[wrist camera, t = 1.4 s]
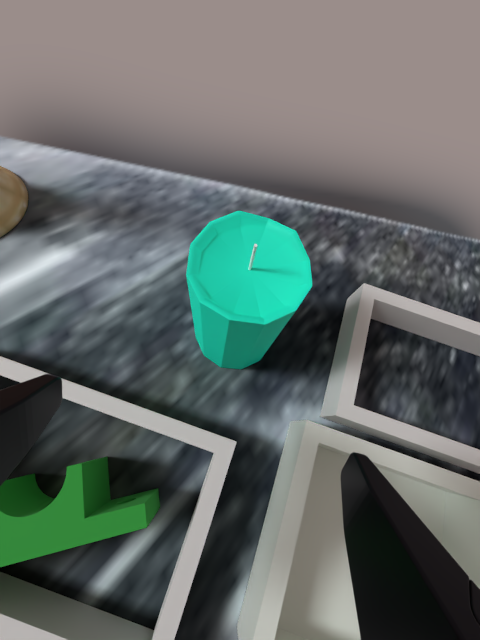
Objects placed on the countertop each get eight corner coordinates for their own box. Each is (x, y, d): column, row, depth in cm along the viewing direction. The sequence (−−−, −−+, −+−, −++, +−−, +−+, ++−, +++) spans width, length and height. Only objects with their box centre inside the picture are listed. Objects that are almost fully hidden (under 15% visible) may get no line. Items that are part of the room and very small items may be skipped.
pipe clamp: (153, 445, 21) (139, 449, 17) (160, 506, 20) (148, 527, 16) (-29, 487, 19) (-98, 504, 15) (-33, 557, 18) (-108, 597, 14)
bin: (433, 700, 18) (494, 773, 14) (236, 625, 18) (243, 677, 14) (450, 478, 22) (500, 489, 18) (290, 421, 22) (306, 419, 18)
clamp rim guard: (163, 658, 17) (154, 703, 14) (-147, 540, 18) (-214, 560, 15) (233, 440, 21) (236, 441, 18) (-19, 349, 22) (-53, 337, 19)
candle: (258, 381, 23) (306, 334, 12) (183, 353, 23) (158, 281, 12) (281, 311, 25) (339, 213, 14) (211, 286, 25) (213, 170, 14)
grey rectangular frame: (559, 502, 22) (611, 513, 19) (319, 416, 22) (335, 415, 20) (554, 370, 25) (597, 363, 23) (347, 299, 26) (363, 283, 23)
